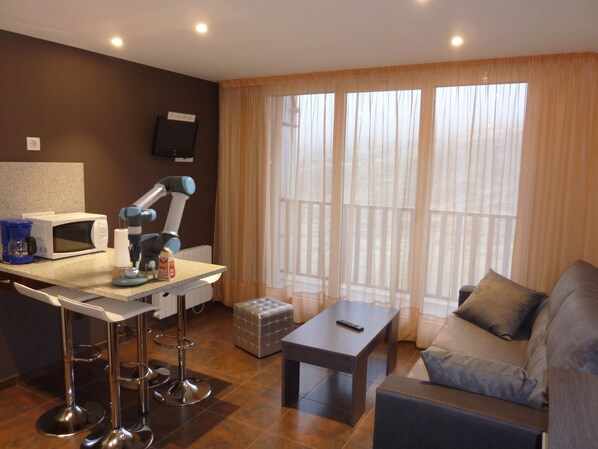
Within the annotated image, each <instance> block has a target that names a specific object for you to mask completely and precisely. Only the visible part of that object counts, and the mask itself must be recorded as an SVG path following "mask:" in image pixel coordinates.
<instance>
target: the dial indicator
mask: <svg viewBox="0 0 598 449" xmlns="http://www.w3.org/2000/svg"><path fill="white" fill-rule="evenodd" d="M155 266H156V264H155V261H150V262H148V267H149V268H151V269H152V268H153V271H152V278H150V279H148V281H149V282H150V283H151V282H153V283H156V282H158V281H160V280H159V279H157V277H156V270H155ZM147 272H148V271H147V269H146V271H145V275H146V276H148V274H147Z"/></svg>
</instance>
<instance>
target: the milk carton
mask: <svg viewBox="0 0 598 449" xmlns="http://www.w3.org/2000/svg"><path fill="white" fill-rule="evenodd" d="M159 257H160V261H159V267H158V270H157V274H156V278H157V279H159V280H158V281H167V282H168V281H169V282H171V281H173V280H174V279H176V278H177V270H176V264H175V257H174V255H173V252H172V251H171V250H170V249H169V247H168V248H166V247H164V249H163V250H162V251H161V254H159Z"/></svg>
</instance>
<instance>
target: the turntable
mask: <svg viewBox="0 0 598 449" xmlns="http://www.w3.org/2000/svg"><path fill="white" fill-rule="evenodd" d="M121 272H122V271H121V268H112V278H111V283H112V284H114V285H118V286H127V285H129V286H135V284H136V285H140V284H144V283H147V282H148V281H149V276H148V275H146V274H140V273H139V277H138V278H134V279H127V278H125V274H121Z"/></svg>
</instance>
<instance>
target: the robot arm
mask: <svg viewBox="0 0 598 449" xmlns="http://www.w3.org/2000/svg"><path fill="white" fill-rule="evenodd" d="M195 191H196V184H195V181H194V179H193V178H192V177H190V176H186V175H185V176H180V175H179V176H175V175H170V176H167V177H164V178H162V179H161V180H159V181H157V183H155V184H154V186H153V188H151V189H150V190H148V192H146V193H145V194H143V196H141V197H140V198H139V199H138V200H136V201H134V203H132V204H131V205H130V206H128V207H122V208H121V209H120V211H119V217H120V218H121V219H122V220H123V221H125V220H126V221H127V240H128V241H129V246H127V250H128V254H129V261H130V262H131V264H132V265H131V267H135V269H139V271H142V272H146V269H147V272H153V268H152V269H151V268H149V267H148V262H150V261H155V264H156V266H155V271H158V267H159V261H160V255H161V251H162V250H163V249H164V247H166V248H168V247H169V249H170V250H171V251H172V252H173V256H175V255H176V254H177V253H178V252H179V251H180V248H181V241H180V239H179V235H178V232H179V231H178V230H179V227H180V225H181V220H182V217H183V212H184V209H185V205H186V200H189V199H190V195H193V194H194V193H195ZM169 194H171V196H172V199H171V203H170V206H169V211H168V214H167V216H166V217H167V219H166V222H165V225H164V228H163V231H161V232H160V234H159V233H149V234H142V223H147V222H152V221H155V220H156V218H157V212H156V211H155V209H152V208H149V207H150V206H152V205H153V204H154V203H155V202H157V201H158V200H159V199H160V198H162V197H166V195H169Z"/></svg>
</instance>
